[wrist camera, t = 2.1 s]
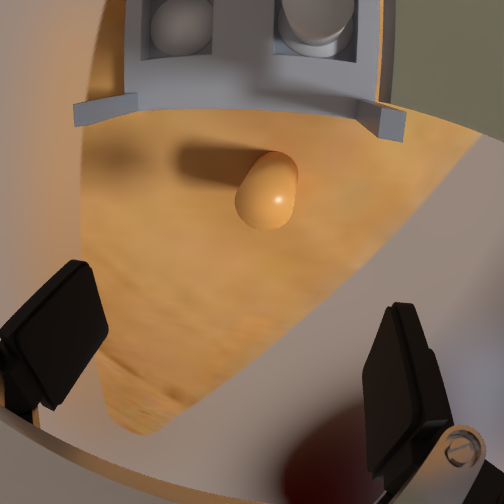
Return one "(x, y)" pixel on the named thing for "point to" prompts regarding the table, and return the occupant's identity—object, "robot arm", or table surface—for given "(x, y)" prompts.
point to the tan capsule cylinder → (268, 192)
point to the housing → (252, 60)
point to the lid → (446, 60)
